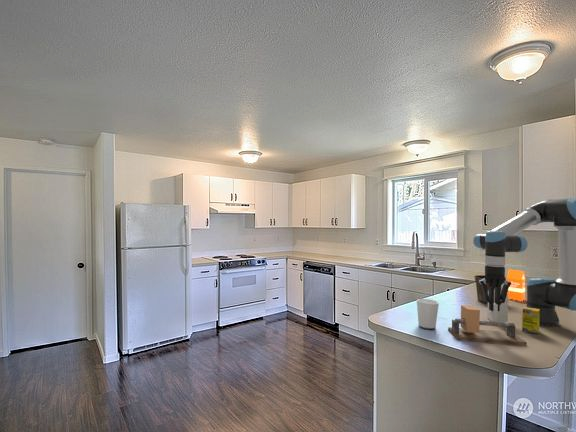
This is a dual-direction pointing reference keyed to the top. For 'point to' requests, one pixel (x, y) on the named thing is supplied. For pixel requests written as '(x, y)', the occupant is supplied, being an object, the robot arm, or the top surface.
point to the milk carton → (503, 310)
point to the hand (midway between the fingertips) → (494, 318)
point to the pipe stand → (487, 333)
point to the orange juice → (516, 285)
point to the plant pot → (479, 290)
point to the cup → (427, 313)
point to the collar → (470, 318)
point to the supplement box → (530, 320)
